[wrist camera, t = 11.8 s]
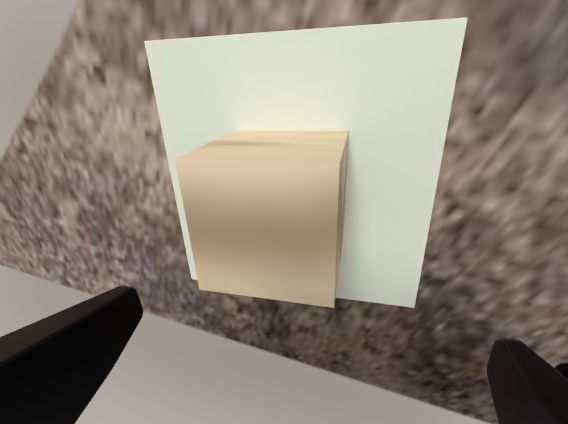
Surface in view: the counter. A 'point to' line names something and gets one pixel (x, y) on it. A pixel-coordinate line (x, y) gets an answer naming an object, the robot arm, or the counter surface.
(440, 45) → the sage mat
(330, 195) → the maple cube
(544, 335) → the counter surface
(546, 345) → the counter surface
